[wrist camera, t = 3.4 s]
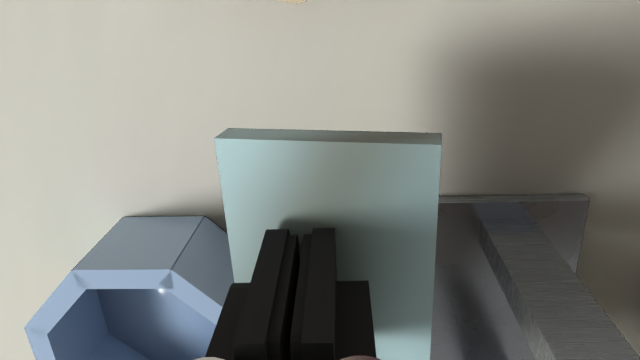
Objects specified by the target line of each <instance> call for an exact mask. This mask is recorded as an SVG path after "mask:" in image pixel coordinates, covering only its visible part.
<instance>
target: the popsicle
mask: <svg viewBox="0 0 640 360" xmlns="http://www.w3.org/2000/svg"><path fill="white" fill-rule="evenodd" d="M276 1H282V2H288V3H293V4H300V3H303V2H305V1H307V0H276Z"/></svg>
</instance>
